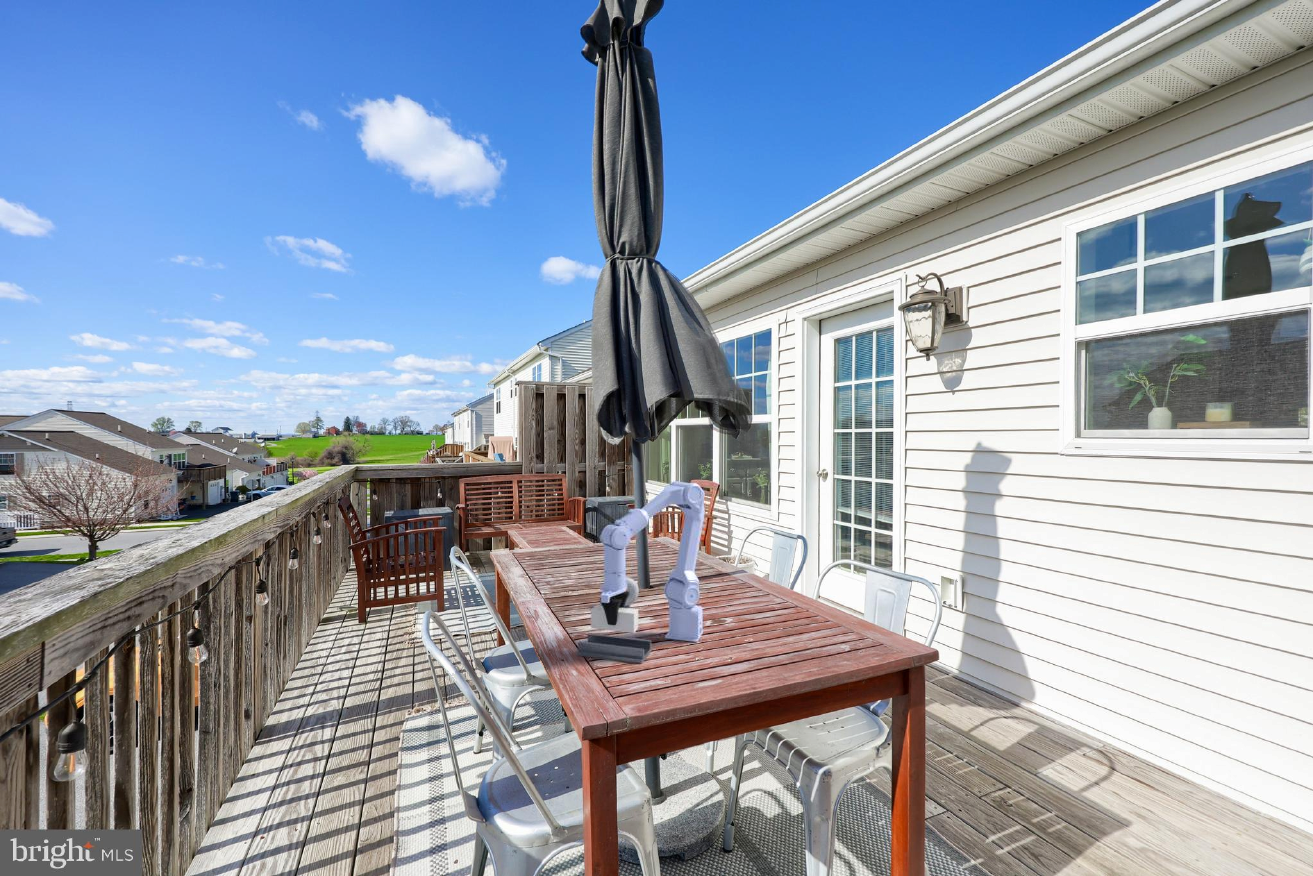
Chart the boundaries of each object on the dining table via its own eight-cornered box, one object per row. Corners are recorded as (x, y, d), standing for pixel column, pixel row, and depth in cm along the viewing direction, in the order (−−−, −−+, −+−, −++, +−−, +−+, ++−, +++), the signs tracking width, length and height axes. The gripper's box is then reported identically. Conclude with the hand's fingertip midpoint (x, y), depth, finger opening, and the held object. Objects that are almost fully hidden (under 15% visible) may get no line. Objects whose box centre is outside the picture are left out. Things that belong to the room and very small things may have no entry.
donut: (609, 608, 179) (609, 578, 179) (608, 605, 183) (608, 576, 183) (639, 607, 181) (639, 577, 181) (638, 604, 184) (638, 574, 184)
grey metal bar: (638, 628, 143) (638, 609, 143) (633, 632, 140) (633, 613, 140) (596, 623, 146) (596, 605, 146) (591, 628, 143) (591, 609, 143)
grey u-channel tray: (652, 650, 145) (652, 638, 145) (641, 663, 136) (641, 651, 136) (590, 642, 150) (590, 631, 150) (576, 655, 141) (576, 643, 141)
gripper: (610, 563, 151) (610, 611, 151) (589, 576, 137) (589, 629, 137) (634, 565, 149) (634, 614, 149) (615, 578, 135) (615, 632, 135)
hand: (614, 622), depth 143 cm, fingers closed on grey metal bar, 3 cm apart
